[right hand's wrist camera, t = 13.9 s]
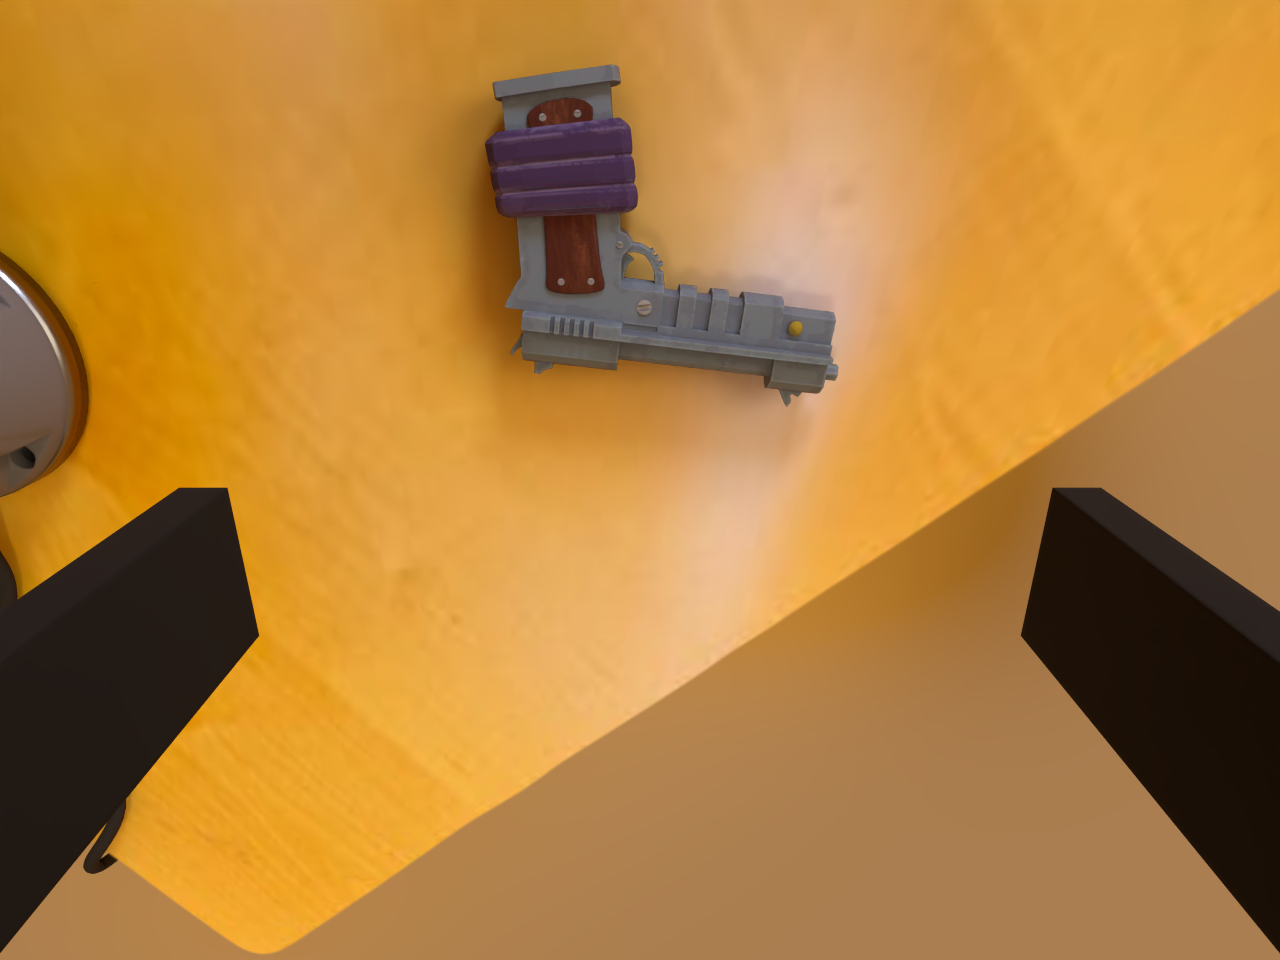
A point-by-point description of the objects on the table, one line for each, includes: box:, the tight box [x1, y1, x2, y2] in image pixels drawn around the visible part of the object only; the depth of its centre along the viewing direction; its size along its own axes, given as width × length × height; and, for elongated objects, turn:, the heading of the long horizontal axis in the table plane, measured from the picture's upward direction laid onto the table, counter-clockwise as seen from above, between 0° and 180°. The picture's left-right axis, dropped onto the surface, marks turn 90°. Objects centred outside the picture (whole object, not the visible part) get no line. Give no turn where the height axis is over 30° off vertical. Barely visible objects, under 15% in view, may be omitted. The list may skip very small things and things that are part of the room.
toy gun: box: [485, 65, 838, 407], centre depth 39 cm, size 4×19×15 cm
